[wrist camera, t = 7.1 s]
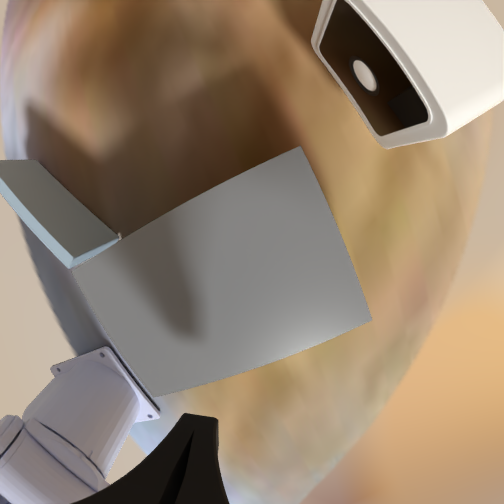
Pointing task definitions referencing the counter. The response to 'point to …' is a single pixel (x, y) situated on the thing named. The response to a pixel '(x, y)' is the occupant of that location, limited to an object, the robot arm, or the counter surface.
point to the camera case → (227, 280)
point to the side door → (53, 212)
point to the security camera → (413, 63)
